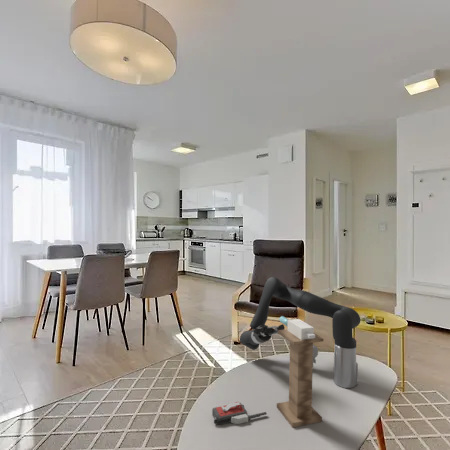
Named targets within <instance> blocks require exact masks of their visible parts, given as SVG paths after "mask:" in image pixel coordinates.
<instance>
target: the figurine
mask: <svg viewBox="0 0 450 450" xmlns="http://www.w3.org/2000/svg"><path fill="white" fill-rule="evenodd" d="M318 355H319V349H318V347H317V346H316V345H315V344H313V364H317V360H316V357H318ZM313 368H314V365H313V366H312V369H313Z"/></svg>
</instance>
